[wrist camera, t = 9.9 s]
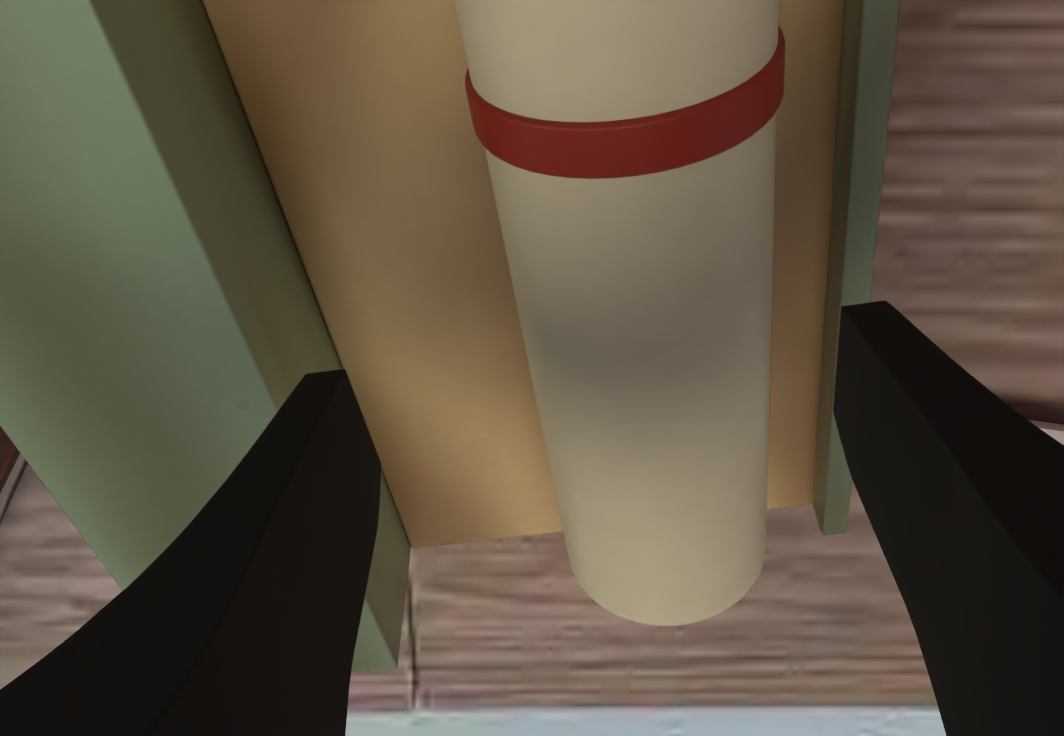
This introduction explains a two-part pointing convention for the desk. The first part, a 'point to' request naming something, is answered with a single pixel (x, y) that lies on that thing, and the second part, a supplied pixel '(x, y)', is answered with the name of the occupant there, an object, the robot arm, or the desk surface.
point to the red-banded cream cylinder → (641, 276)
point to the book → (9, 470)
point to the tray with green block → (346, 263)
